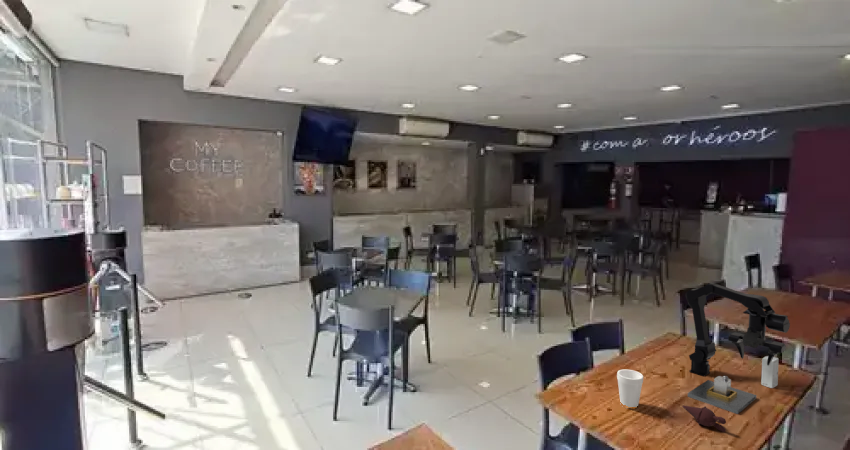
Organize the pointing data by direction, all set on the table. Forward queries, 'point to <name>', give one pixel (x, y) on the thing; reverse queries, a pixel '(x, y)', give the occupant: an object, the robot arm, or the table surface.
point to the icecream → (706, 417)
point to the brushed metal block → (722, 385)
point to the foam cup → (629, 387)
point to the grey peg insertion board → (722, 397)
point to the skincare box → (769, 372)
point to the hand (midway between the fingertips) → (755, 361)
